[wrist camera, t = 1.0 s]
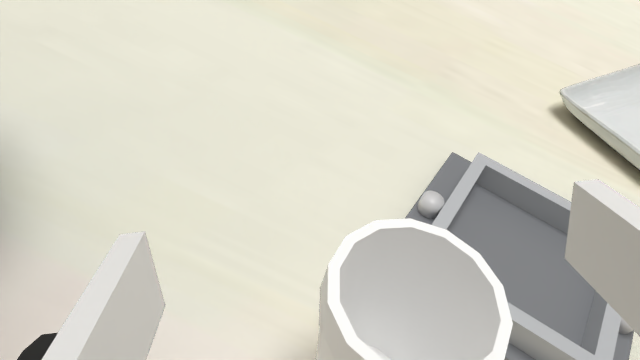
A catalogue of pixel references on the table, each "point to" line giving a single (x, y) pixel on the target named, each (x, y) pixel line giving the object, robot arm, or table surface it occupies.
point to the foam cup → (410, 297)
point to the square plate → (610, 109)
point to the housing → (525, 259)
